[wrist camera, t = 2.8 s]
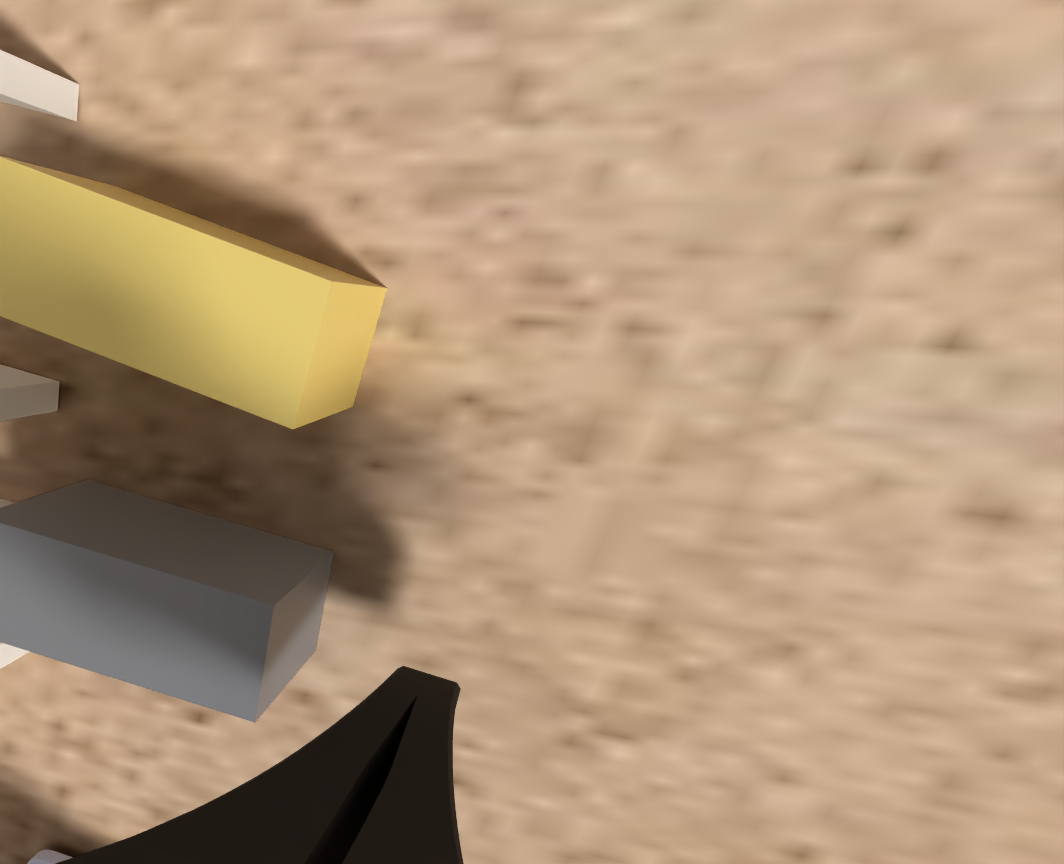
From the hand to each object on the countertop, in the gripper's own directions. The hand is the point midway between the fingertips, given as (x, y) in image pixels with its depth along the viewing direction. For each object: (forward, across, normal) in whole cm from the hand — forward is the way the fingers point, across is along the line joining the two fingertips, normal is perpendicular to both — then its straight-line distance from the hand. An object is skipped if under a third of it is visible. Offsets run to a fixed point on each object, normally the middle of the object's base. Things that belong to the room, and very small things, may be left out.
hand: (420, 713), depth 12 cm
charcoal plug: (+3, +7, 0) cm, 8 cm away
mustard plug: (+3, +7, -7) cm, 11 cm away
